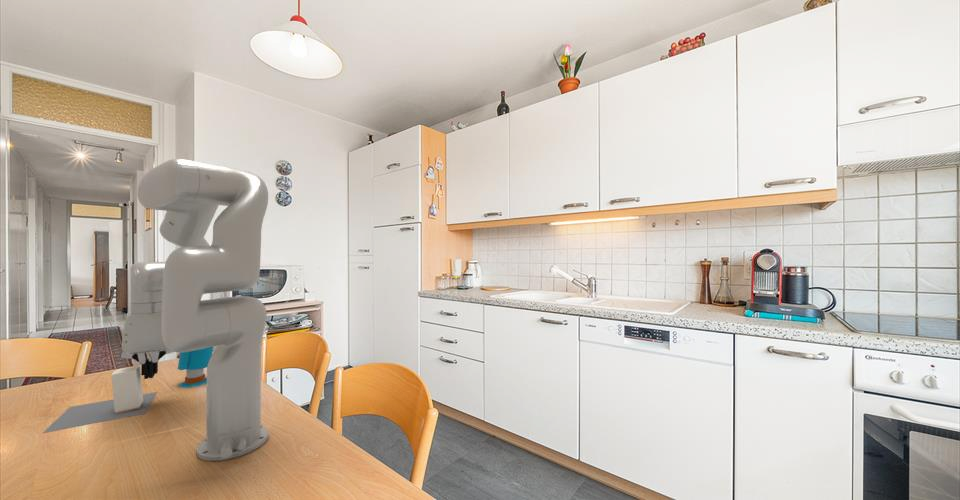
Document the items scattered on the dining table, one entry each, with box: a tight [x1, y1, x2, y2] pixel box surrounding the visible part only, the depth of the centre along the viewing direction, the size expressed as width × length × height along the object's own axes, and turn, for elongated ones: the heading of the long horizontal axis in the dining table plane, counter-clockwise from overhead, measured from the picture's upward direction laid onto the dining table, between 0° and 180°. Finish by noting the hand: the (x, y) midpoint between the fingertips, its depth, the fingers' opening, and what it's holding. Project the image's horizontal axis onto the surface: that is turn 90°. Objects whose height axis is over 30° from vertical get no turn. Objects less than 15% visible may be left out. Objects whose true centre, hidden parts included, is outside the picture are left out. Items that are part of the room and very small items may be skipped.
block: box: [111, 364, 143, 414], centre depth 91 cm, size 4×4×10 cm
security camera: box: [176, 346, 214, 388], centre depth 109 cm, size 8×21×10 cm
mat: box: [42, 391, 158, 434], centre depth 90 cm, size 16×17×1 cm
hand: (149, 376), depth 93 cm, fingers closed
